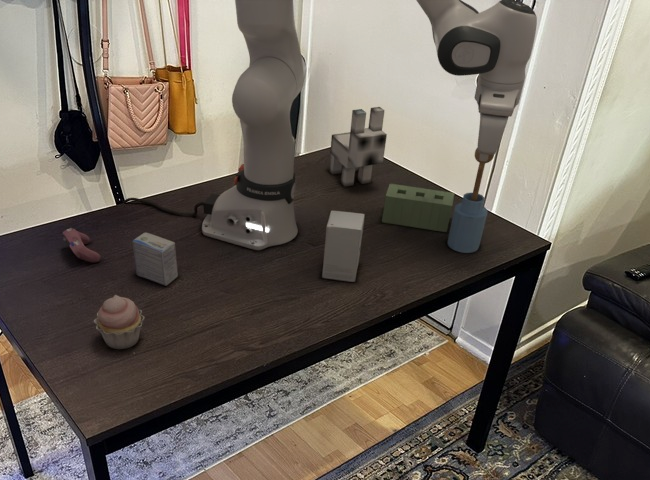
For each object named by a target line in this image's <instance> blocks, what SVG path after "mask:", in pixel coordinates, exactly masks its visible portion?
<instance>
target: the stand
mask: <svg viewBox="0 0 650 480" xmlns="http://www.w3.org/2000/svg"><path fill="white" fill-rule="evenodd" d="M454 198H455V192H451V191H445V190H444V191H443V190H437V189H431V188H430V189H429V188H423V187H416V186H409V185H403V184H396V183H389V184H388V187H387V190H386V193H385V195H384V203H383V210H382V211H383V212H382V217H381V223H384V224H390V225H391V224H392V225H396V226H397V225H398V226H404V227H409V228H416V229H423V230H429V231H436V232H441V233H447V232H448V227H449V223H450V219H451V213H452V209H453V203H454Z"/></svg>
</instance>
